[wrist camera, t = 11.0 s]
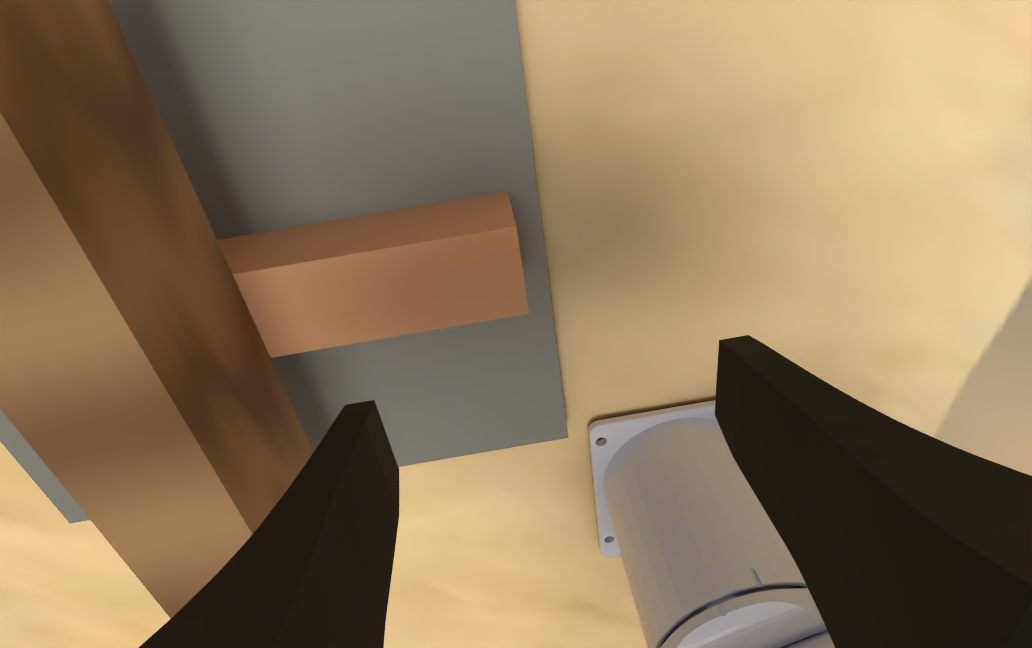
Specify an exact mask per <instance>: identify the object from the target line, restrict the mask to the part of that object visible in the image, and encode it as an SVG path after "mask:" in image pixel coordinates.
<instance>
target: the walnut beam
mask: <svg viewBox="0 0 1032 648" xmlns="http://www.w3.org/2000/svg"><path fill="white" fill-rule="evenodd" d="M0 409H1V410H2V412H3V413H4V414H5V415H6V417H7V418H8V419H9V420H10V421H11V423H12V424H13V425H14V426H15V428H16V429H17V430H18V431H19V433H20V434H21V435H22V436H23V437H24V439H25V440H26V441H27V442H28V444H29V445H30V446H31V447H32V448H33V450H34V451H35V452H36V453H37V455H38V456H39V457H40V458H41V460H42V461H43V462H44V463H45V464H46V466H47V467H48V468H49V469H50V471H51V472H52V473H53V474H54V475H55V477H56V478H57V479H58V480H59V482H60V483H61V484H62V485H63V487H64V488H65V489H66V490H67V491H68V493H69V494H70V495H71V496H72V498H73V499H74V500H75V501H76V503H77V504H78V505H79V506H80V507H81V509H82V510H83V511H84V512H85V514H86V515H87V516H88V517H89V518H90V520H91V521H92V522H93V523H94V525H95V526H96V527H97V528H98V530H99V531H100V532H101V533H102V534H103V536H104V537H105V538H106V539H107V541H108V542H109V543H110V544H111V545H112V547H113V548H114V549H115V550H116V552H117V553H118V554H119V555H120V557H121V558H122V559H123V560H124V561H125V563H126V564H127V565H128V566H129V568H130V569H131V570H132V571H133V572H134V574H135V575H136V576H137V577H138V579H139V580H140V581H141V582H142V584H143V585H144V586H145V587H146V588H147V590H148V591H149V592H150V593H151V595H152V596H153V597H154V598H155V600H156V601H157V602H158V603H159V604H160V606H161V607H162V608H163V609H164V611H165V612H166V613H167V614H168V615H169V617H170V618H172V617H173V616H174V615H175V614H176V613H177V612H178V611H180V610H181V609H182V608H183V607H184V606H185V605H186V604H187V603H188V602H189V601H190V600H191V599H192V598H193V597H194V596H195V595H196V594H197V593H198V592H199V591H200V590H201V589H202V588H203V587H204V586H205V585H206V584H207V583H208V582H209V581H210V580H211V579H212V578H213V577H214V576H215V575H216V574H217V573H218V572H219V571H220V570H221V569H222V568H223V567H224V566H225V565H226V563H227V562H228V561H229V560H230V559H231V558H232V557H233V556H234V555H235V554H236V552H237V551H238V550H239V549H240V548H241V547H242V546H243V545H244V544H245V542H246V541H247V540H248V539H249V538H250V537H251V535H252V534H253V533H254V532H255V531H256V529H257V528H258V527H259V526H260V525H261V523H262V522H263V521H264V519H265V518H266V517H267V516H268V514H269V513H270V512H271V510H272V509H273V508H274V506H275V505H276V504H277V503H278V501H279V500H280V499H281V497H282V496H283V495H284V493H285V492H286V491H287V489H288V488H289V487H290V485H291V484H292V482H293V481H294V480H295V478H296V477H297V475H298V474H299V472H300V471H301V470H302V468H303V467H304V465H305V464H306V462H307V461H308V459H309V458H310V457H311V455H312V454H313V450H312V448H311V446H310V443H309V441H308V439H307V437H306V435H305V432H304V430H303V428H302V426H301V424H300V421H299V419H298V417H297V415H296V413H295V410H294V408H293V406H292V404H291V402H290V399H289V397H288V395H287V393H286V391H285V388H284V386H283V384H282V382H281V380H280V377H279V375H278V373H277V371H276V369H275V366H274V364H273V362H272V360H271V358H270V355H269V353H268V351H267V349H266V347H265V344H264V342H263V340H262V338H261V336H260V333H259V331H258V329H257V327H256V325H255V322H254V320H253V318H252V316H251V314H250V311H249V309H248V307H247V305H246V303H245V300H244V298H243V296H242V294H241V292H240V289H239V287H238V285H237V283H236V281H235V278H234V276H233V274H232V272H231V270H230V268H229V265H228V263H227V261H226V259H225V257H224V254H223V252H222V250H221V248H220V246H219V243H218V241H217V239H216V237H215V235H214V232H213V230H212V228H211V226H210V224H209V221H208V219H207V217H206V215H205V213H204V210H203V208H202V206H201V204H200V202H199V199H198V197H197V195H196V193H195V191H194V188H193V186H192V184H191V182H190V180H189V177H188V175H187V173H186V171H185V169H184V166H183V164H182V162H181V160H180V158H179V155H178V153H177V151H176V149H175V147H174V144H173V142H172V140H171V138H170V136H169V133H168V131H167V129H166V127H165V125H164V122H163V120H162V118H161V116H160V114H159V111H158V109H157V107H156V105H155V103H154V100H153V98H152V96H151V94H150V92H149V89H148V87H147V85H146V83H145V81H144V78H143V76H142V74H141V72H140V70H139V67H138V65H137V63H136V61H135V59H134V57H133V54H132V52H131V50H130V48H129V46H128V43H127V41H126V39H125V37H124V35H123V32H122V30H121V28H120V26H119V24H118V21H117V19H116V17H115V15H114V13H113V10H112V8H111V6H110V4H109V2H108V0H0Z"/></svg>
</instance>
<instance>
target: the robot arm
mask: <svg viewBox="0 0 1032 648" xmlns="http://www.w3.org/2000/svg"><path fill="white" fill-rule="evenodd" d="M588 435H589V445H590V455H591V466H592V476H593V486H594V496H595V507H596V517H597V527H598V537H599V548H600V551H601V554H602V555H603V556H606V557H612V556H618V555H621V556H622V560H623V563H624V567H625V570H626V574H627V577H628V581H629V584H630V588H631V591H632V595H633V598H634V602H635V605H636V609H637V612H638V616H639V619H640V623H641V626H642V630H643V633H644V636H645V640H646V643H647V647H648V648H1032V476H1030V475H1027V474H1024V473H1021V472H1018V471H1016V470H1013V469H1010V468H1008V467H1005V466H1002V465H1000V464H997V463H994V462H992V461H989V460H986V459H984V458H981V457H978V456H976V455H973V454H971V453H968V452H966V451H963V450H961V449H958V448H956V447H953V446H951V445H949V444H947V443H944V442H942V441H940V440H937V439H935V438H933V437H931V436H929V435H926V434H924V433H922V432H920V431H917V430H915V429H913V428H911V427H909V426H907V425H904V424H902V423H900V422H898V421H896V420H894V419H892V418H890V417H888V416H886V415H884V414H883V413H881V412H879V411H877V410H875V409H873V408H871V407H869V406H867V405H865V404H863V403H862V402H860V401H858V400H856V399H854V398H852V397H851V396H849V395H847V394H845V393H844V392H842V391H840V390H838V389H837V388H835V387H833V386H831V385H830V384H828V383H826V382H825V381H823V380H821V379H820V378H818V377H816V376H815V375H813V374H811V373H810V372H808V371H806V370H805V369H803V368H801V367H800V366H798V365H797V364H795V363H793V362H792V361H790V360H788V359H787V358H785V357H784V356H782V355H780V354H779V353H777V352H776V351H774V350H772V349H771V348H769V347H768V346H766V345H764V344H763V343H761V342H759V341H758V340H756V339H754V338H752V337H751V336H749V335H747V336H741V337H735V338H730V339H724V340H719V354H718V370H717V385H716V400H713V401H707V402H701V403H696V404H690V405H684V406H678V407H672V408H667V409H661V410H655V411H649V412H643V413H638V414H632V415H626V416H620V417H614V418H608V419H603V420H598V421H594V422H593V423H591V424H590V426H589V428H588ZM601 437H602V438H603V439H601V440H597V439H598V438H601ZM398 519H399V468H398V465H397V462H396V459H395V457H394V454H393V451H392V448H391V445H390V443H389V440H388V437H387V434H386V431H385V428H384V426H383V423H382V420H381V417H380V414H379V412H378V409H377V406H376V403H375V400H371V401H365V402H359V403H353V404H347V405H345V406H344V407H343V409H342V410H341V411H340V413H339V414H338V416H337V417H336V419H335V420H334V422H333V423H332V425H331V426H330V428H329V429H328V431H327V432H326V434H325V435H324V437H323V439H322V440H321V442H320V443H319V445H318V446H317V448H316V449H315V451H314V452H313V454H312V455H311V457H310V458H309V459H308V461H307V462H306V464H305V465H304V467H303V468H302V470H301V471H300V472H299V474H298V475H297V477H296V478H295V480H294V481H293V482H292V484H291V485H290V487H289V488H288V489H287V491H286V492H285V493H284V495H283V496H282V497H281V499H280V500H279V501H278V503H277V504H276V505H275V506H274V508H273V509H272V510H271V512H270V513H269V514H268V516H267V517H266V518H265V519H264V521H263V522H262V523H261V525H260V526H259V527H258V528H257V529H256V531H255V532H254V533H253V534H252V535H251V537H250V538H249V539H248V540H247V541H246V542H245V544H244V545H243V546H242V547H241V548H240V549H239V550H238V551H237V552H236V554H235V555H234V556H233V557H232V558H231V559H230V560H229V561H228V562H227V563H226V565H225V566H224V567H223V568H222V569H221V570H220V571H219V572H218V573H217V574H216V575H215V576H214V577H213V578H212V579H211V580H210V581H209V582H208V583H207V584H206V585H205V586H204V587H203V588H202V589H201V590H200V591H199V592H198V593H197V594H196V595H195V596H194V597H193V598H192V599H191V600H190V601H189V602H188V603H187V604H186V605H185V606H184V607H183V608H182V609H181V610H180V611H178V612H177V613H176V614H175V615H174V616H173V617H172V618H171V619H170V620H169V621H168V622H167V623H166V624H165V625H164V626H162V627H161V628H160V629H159V630H158V631H157V632H156V633H155V634H154V635H152V636H151V637H150V638H149V639H148V640H147V641H146V642H145V643H143V644H142V645H141V646H140V647H139V648H383V645H384V632H385V621H386V613H387V605H388V597H389V590H390V582H391V574H392V567H393V559H394V551H395V543H396V535H397V527H398Z"/></svg>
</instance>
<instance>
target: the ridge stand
mask: <svg viewBox="0 0 1032 648" xmlns="http://www.w3.org/2000/svg"><path fill="white" fill-rule="evenodd" d="M108 2H109V4H110V6H111V8H112V10H113V13H114V15H115V17H116V19H117V21H118V24H119V26H120V28H121V30H122V32H123V35H124V37H125V39H126V41H127V43H128V46H129V48H130V50H131V52H132V54H133V57H134V59H135V61H136V63H137V65H138V67H139V70H140V72H141V74H142V76H143V78H144V81H145V83H146V85H147V87H148V89H149V92H150V94H151V96H152V98H153V100H154V103H155V105H156V107H157V109H158V111H159V114H160V116H161V118H162V120H163V122H164V125H165V127H166V129H167V131H168V133H169V136H170V138H171V140H172V142H173V144H174V147H175V149H176V151H177V153H178V155H179V158H180V160H181V162H182V164H183V166H184V169H185V171H186V173H187V175H188V177H189V180H190V182H191V184H192V186H193V188H194V191H195V193H196V195H197V197H198V199H199V202H200V204H201V206H202V208H203V210H204V213H205V215H206V217H207V219H208V221H209V224H210V226H211V228H212V230H213V232H214V235H215V237H216V239H217V241H218V243H219V246H220V248H221V250H222V252H223V254H224V257H225V259H226V261H227V263H228V265H229V268H230V270H231V272H232V274H233V276H234V278H235V281H236V283H237V285H238V287H239V289H240V292H241V294H242V296H243V298H244V300H245V303H246V305H247V307H248V309H249V311H250V314H251V316H252V318H253V320H254V322H255V325H256V327H257V329H258V331H259V333H260V336H261V338H262V340H263V342H264V344H265V347H266V349H267V351H268V353H269V355H270V358H271V360H272V362H273V364H274V366H275V369H276V371H277V373H278V375H279V377H280V380H281V382H282V384H283V386H284V388H285V391H286V393H287V395H288V397H289V399H290V402H291V404H292V406H293V408H294V410H295V413H296V415H297V417H298V419H299V421H300V424H301V426H302V428H303V430H304V432H305V435H306V437H307V439H308V441H309V443H310V446H311V448H312V450H313V452H314V451H315V449H316V448H317V446H318V445H319V443H320V442H321V440H322V439H323V437H324V435H325V434H326V432H327V431H328V429H329V428H330V426H331V425H332V423H333V422H334V420H335V419H336V417H337V416H338V414H339V413H340V411H341V410H342V409H343V407H344V406H345V405H347V404H353V403H359V402H365V401H371V400H375V403H376V406H377V409H378V412H379V414H380V417H381V420H382V423H383V426H384V428H385V431H386V434H387V437H388V440H389V443H390V445H391V448H392V451H393V454H394V457H395V459H396V462H397V465H398V467H400V466H406V465H412V464H417V463H423V462H429V461H435V460H441V459H446V458H452V457H458V456H464V455H470V454H476V453H481V452H487V451H493V450H499V449H505V448H510V447H516V446H522V445H528V444H534V443H539V442H545V441H551V440H557V439H563V438H568V432H567V424H566V416H565V408H564V399H563V391H562V383H561V375H560V367H559V359H558V351H557V343H556V335H555V327H554V318H553V310H552V302H551V294H550V286H549V278H548V270H547V262H546V254H545V246H544V238H543V229H542V221H541V213H540V205H539V197H538V189H537V181H536V173H535V165H534V157H533V148H532V140H531V132H530V124H529V116H528V108H527V100H526V92H525V84H524V76H523V67H522V59H521V51H520V43H519V35H518V27H517V19H516V11H515V3H514V0H108ZM0 441H1V443H2V444H3V445H4V446H5V447H6V448H7V450H8V451H9V452H10V453H11V454H12V455H13V457H14V458H15V459H16V460H17V461H18V463H19V464H20V465H21V466H22V467H23V468H24V470H25V471H26V472H27V473H28V474H29V476H30V477H31V478H32V479H33V480H34V481H35V483H36V484H37V485H38V486H39V487H40V489H41V490H42V491H43V492H44V493H45V494H46V496H47V497H48V498H49V499H50V500H51V501H52V503H53V504H54V505H55V506H56V507H57V509H58V510H59V511H60V512H61V513H62V514H63V516H64V517H65V518H66V519H67V520H68V522H69V523H75V522H81V521H87V520H90V518H89V517H88V516H87V515H86V514H85V512H84V511H83V510H82V509H81V507H80V506H79V505H78V504H77V503H76V501H75V500H74V499H73V498H72V496H71V495H70V494H69V493H68V491H67V490H66V489H65V488H64V487H63V485H62V484H61V483H60V482H59V480H58V479H57V478H56V477H55V475H54V474H53V473H52V472H51V471H50V469H49V468H48V467H47V466H46V464H45V463H44V462H43V461H42V460H41V458H40V457H39V456H38V455H37V453H36V452H35V451H34V450H33V448H32V447H31V446H30V445H29V444H28V442H27V441H26V440H25V439H24V437H23V436H22V435H21V434H20V433H19V431H18V430H17V429H16V428H15V426H14V425H13V424H12V423H11V421H10V420H9V419H8V418H7V417H6V415H5V414H4V413H3V412H2V410H1V409H0Z"/></svg>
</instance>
